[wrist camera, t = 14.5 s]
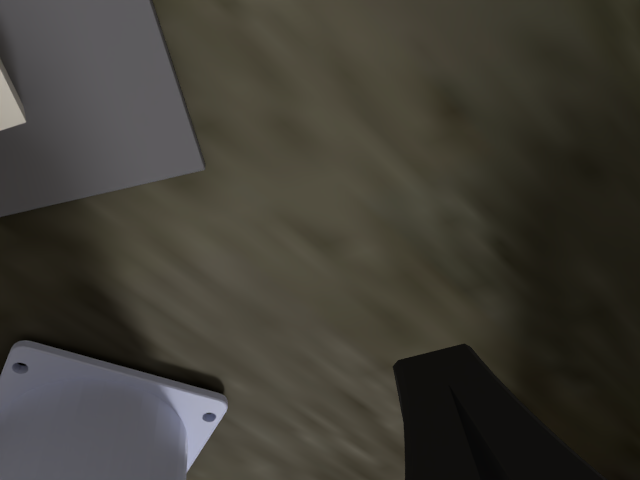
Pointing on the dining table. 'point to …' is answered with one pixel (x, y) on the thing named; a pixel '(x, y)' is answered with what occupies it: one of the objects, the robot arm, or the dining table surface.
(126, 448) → the robot arm
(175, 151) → the domino mat
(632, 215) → the dining table surface
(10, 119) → the beige rectangular block
